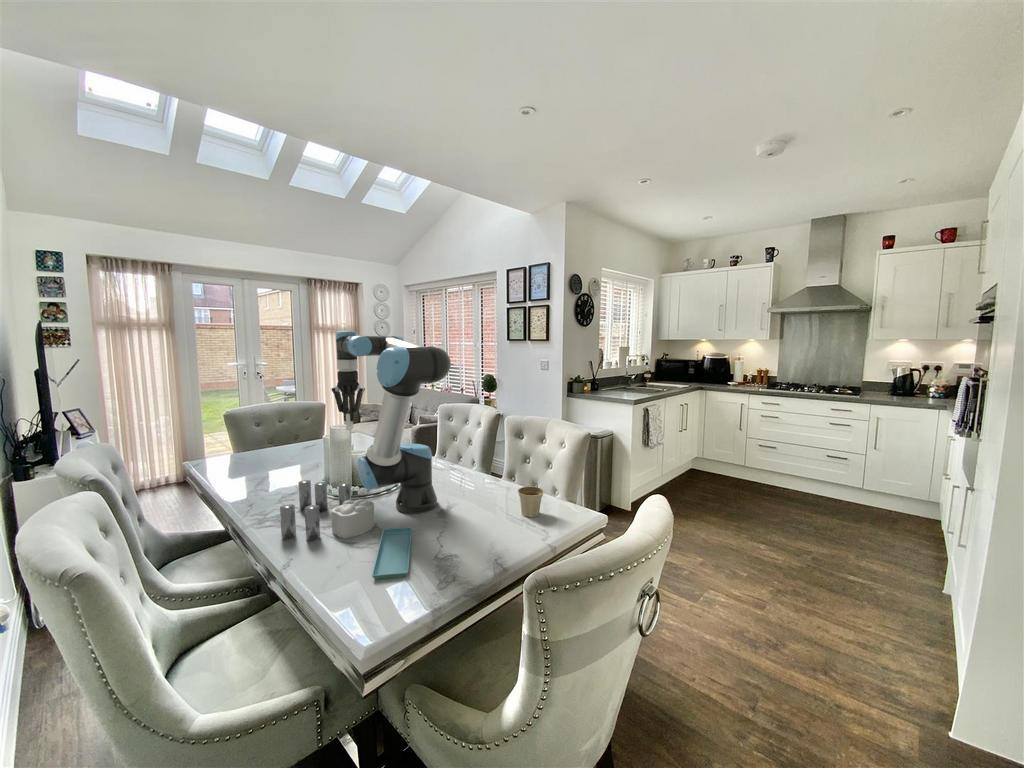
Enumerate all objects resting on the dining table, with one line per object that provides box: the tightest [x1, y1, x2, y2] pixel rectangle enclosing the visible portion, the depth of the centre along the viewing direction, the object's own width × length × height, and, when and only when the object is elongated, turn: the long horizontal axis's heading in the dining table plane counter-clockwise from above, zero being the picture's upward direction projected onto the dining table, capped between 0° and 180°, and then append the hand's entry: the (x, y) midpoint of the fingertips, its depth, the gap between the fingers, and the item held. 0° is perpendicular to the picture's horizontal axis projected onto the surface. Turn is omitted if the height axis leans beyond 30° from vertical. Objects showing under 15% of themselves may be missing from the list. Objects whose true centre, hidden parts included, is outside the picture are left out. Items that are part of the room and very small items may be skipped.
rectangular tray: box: [371, 526, 413, 581], centre depth 120 cm, size 26×9×2 cm, turn 11°
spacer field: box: [279, 479, 352, 542], centre depth 141 cm, size 20×26×10 cm
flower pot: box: [517, 485, 545, 518], centre depth 148 cm, size 9×9×9 cm
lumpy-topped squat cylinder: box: [330, 498, 375, 539], centre depth 136 cm, size 10×13×9 cm
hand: (349, 429), depth 165 cm, fingers closed
